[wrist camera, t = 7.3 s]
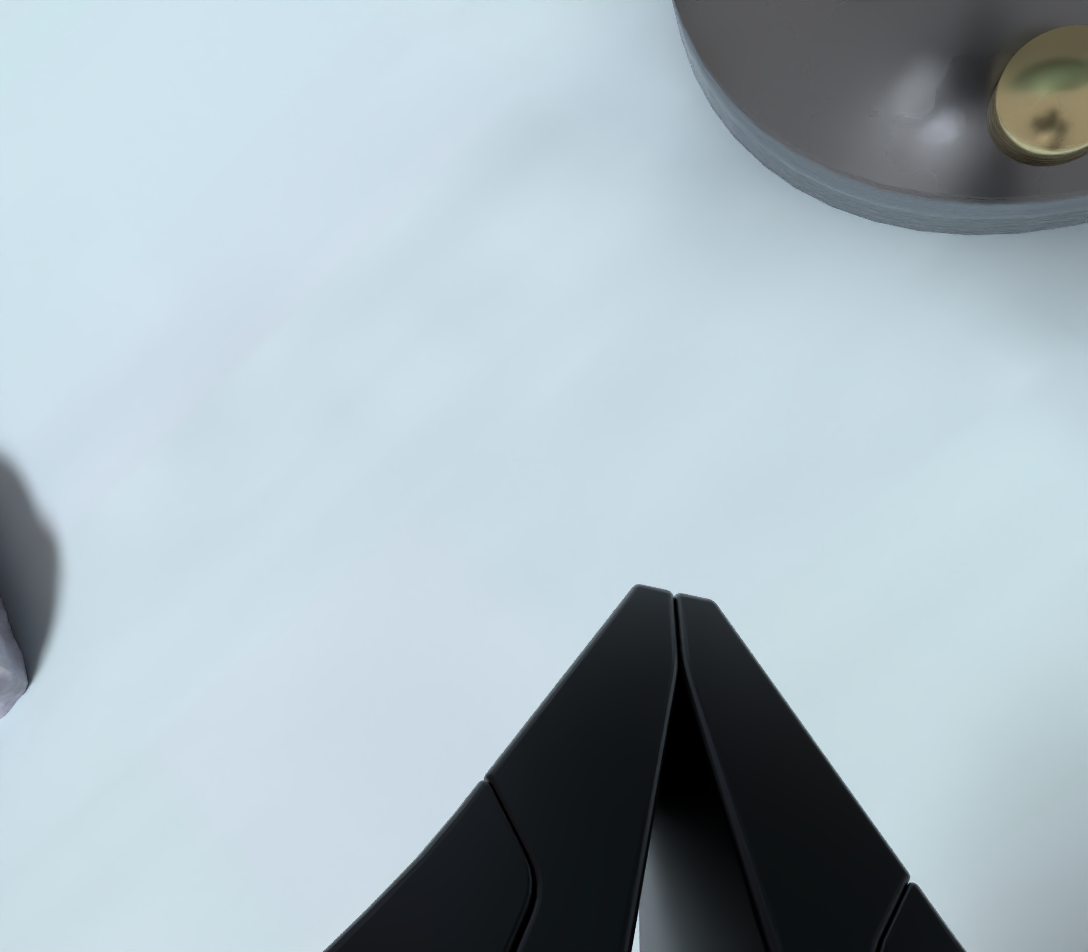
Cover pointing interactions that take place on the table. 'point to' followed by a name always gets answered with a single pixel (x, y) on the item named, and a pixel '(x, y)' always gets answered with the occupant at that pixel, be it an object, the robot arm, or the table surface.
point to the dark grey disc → (907, 104)
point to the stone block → (10, 666)
